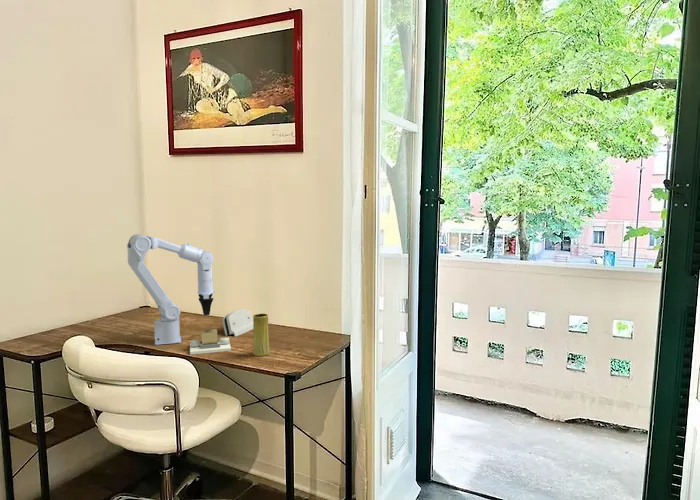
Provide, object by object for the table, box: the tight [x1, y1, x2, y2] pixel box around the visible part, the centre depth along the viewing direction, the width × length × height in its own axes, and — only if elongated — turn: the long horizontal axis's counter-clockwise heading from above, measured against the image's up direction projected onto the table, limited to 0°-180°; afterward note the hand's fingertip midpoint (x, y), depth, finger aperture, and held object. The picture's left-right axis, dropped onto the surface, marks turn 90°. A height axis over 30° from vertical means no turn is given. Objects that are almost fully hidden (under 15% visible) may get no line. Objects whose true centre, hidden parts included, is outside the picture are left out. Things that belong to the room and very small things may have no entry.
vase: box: [252, 313, 271, 357], centre depth 179 cm, size 6×6×14 cm
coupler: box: [201, 328, 219, 345], centre depth 186 cm, size 6×4×6 cm
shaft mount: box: [189, 336, 232, 356], centre depth 187 cm, size 14×12×3 cm
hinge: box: [221, 308, 253, 337], centre depth 211 cm, size 17×5×10 cm, turn 157°
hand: (206, 313), depth 203 cm, fingers open, 7 cm apart
